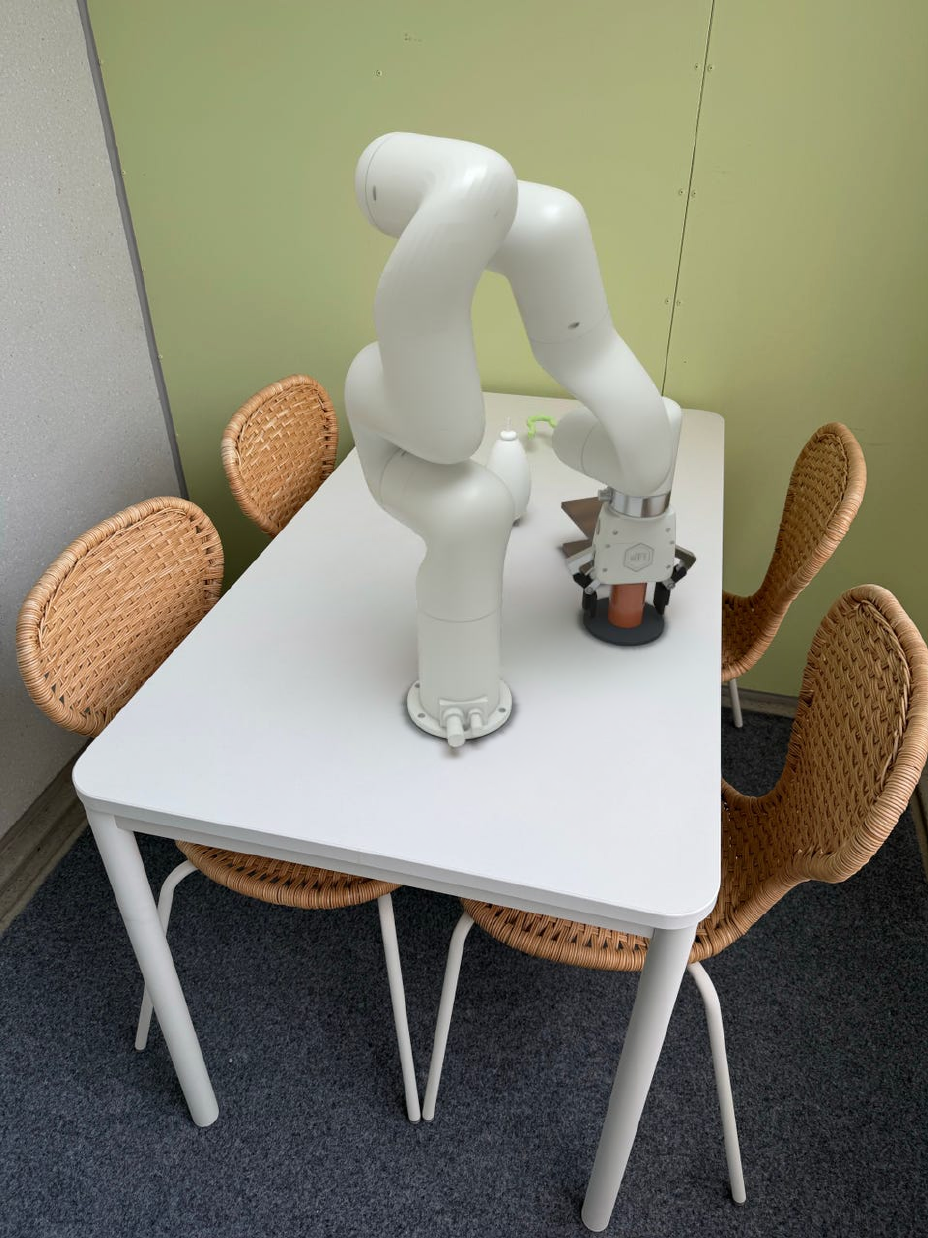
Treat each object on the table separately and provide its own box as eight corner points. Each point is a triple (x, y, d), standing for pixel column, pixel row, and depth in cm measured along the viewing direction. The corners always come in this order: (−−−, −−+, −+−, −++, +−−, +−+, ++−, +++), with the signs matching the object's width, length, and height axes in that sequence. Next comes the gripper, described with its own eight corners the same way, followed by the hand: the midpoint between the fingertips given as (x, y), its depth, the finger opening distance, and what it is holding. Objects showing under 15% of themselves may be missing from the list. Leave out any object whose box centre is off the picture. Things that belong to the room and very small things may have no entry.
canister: (646, 627, 117) (653, 583, 113) (611, 629, 116) (616, 585, 112) (637, 607, 121) (643, 564, 117) (603, 609, 120) (608, 566, 116)
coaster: (674, 643, 115) (675, 639, 114) (592, 648, 114) (593, 644, 114) (651, 597, 124) (651, 594, 123) (575, 601, 123) (575, 598, 123)
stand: (664, 574, 129) (671, 527, 124) (590, 587, 126) (595, 539, 121) (627, 536, 138) (633, 490, 134) (557, 547, 135) (561, 501, 131)
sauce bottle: (528, 509, 145) (533, 406, 135) (530, 532, 139) (535, 426, 129) (482, 509, 146) (483, 406, 135) (481, 532, 139) (483, 426, 129)
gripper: (576, 514, 104) (566, 630, 114) (717, 508, 106) (694, 623, 115) (564, 486, 110) (555, 599, 120) (697, 480, 112) (677, 592, 122)
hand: (624, 610), depth 118 cm, fingers open, 9 cm apart
